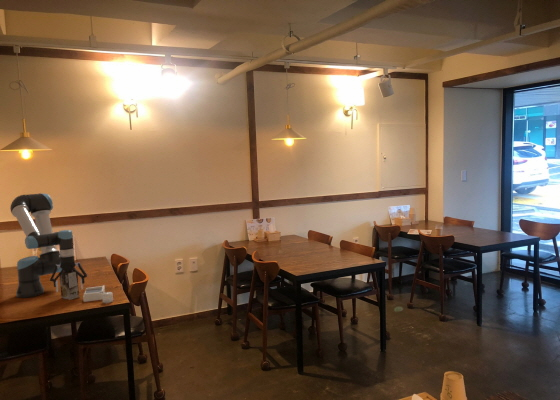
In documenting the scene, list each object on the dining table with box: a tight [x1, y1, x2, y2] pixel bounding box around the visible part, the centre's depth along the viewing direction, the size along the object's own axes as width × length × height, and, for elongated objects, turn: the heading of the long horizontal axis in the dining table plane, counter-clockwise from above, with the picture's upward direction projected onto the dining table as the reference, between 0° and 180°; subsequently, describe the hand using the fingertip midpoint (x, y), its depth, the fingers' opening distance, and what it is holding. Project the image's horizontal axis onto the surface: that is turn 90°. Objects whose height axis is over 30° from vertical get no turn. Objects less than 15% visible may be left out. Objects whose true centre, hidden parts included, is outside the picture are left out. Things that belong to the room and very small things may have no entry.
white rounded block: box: [101, 291, 114, 304], centre depth 251 cm, size 6×6×5 cm
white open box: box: [82, 284, 106, 303], centre depth 260 cm, size 11×14×5 cm
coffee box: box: [58, 270, 80, 301], centre depth 261 cm, size 9×6×16 cm
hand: (69, 290), depth 261 cm, fingers open, 13 cm apart
